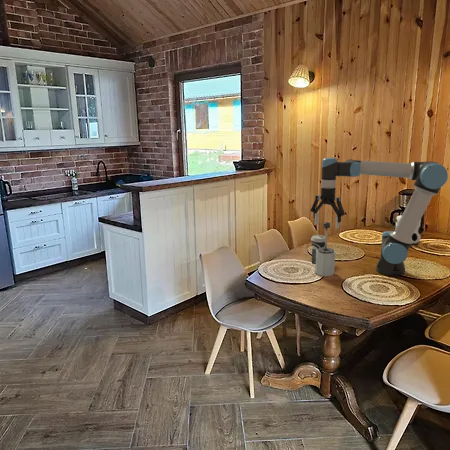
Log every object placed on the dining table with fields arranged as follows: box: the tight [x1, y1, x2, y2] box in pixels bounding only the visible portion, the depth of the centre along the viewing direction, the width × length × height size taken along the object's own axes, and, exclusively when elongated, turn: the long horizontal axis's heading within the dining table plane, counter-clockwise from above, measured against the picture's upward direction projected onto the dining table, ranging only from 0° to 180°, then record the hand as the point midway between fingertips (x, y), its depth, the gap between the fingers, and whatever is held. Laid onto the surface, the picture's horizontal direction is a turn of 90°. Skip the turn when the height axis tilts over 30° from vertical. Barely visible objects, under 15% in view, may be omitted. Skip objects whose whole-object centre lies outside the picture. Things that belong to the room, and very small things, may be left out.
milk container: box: [394, 214, 422, 245], centre depth 268 cm, size 17×17×18 cm
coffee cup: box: [310, 234, 325, 262], centre depth 238 cm, size 10×10×15 cm
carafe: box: [311, 247, 336, 277], centre depth 218 cm, size 13×10×14 cm
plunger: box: [322, 221, 331, 254], centre depth 213 cm, size 7×7×18 cm
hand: (326, 226), depth 211 cm, fingers open, 12 cm apart
